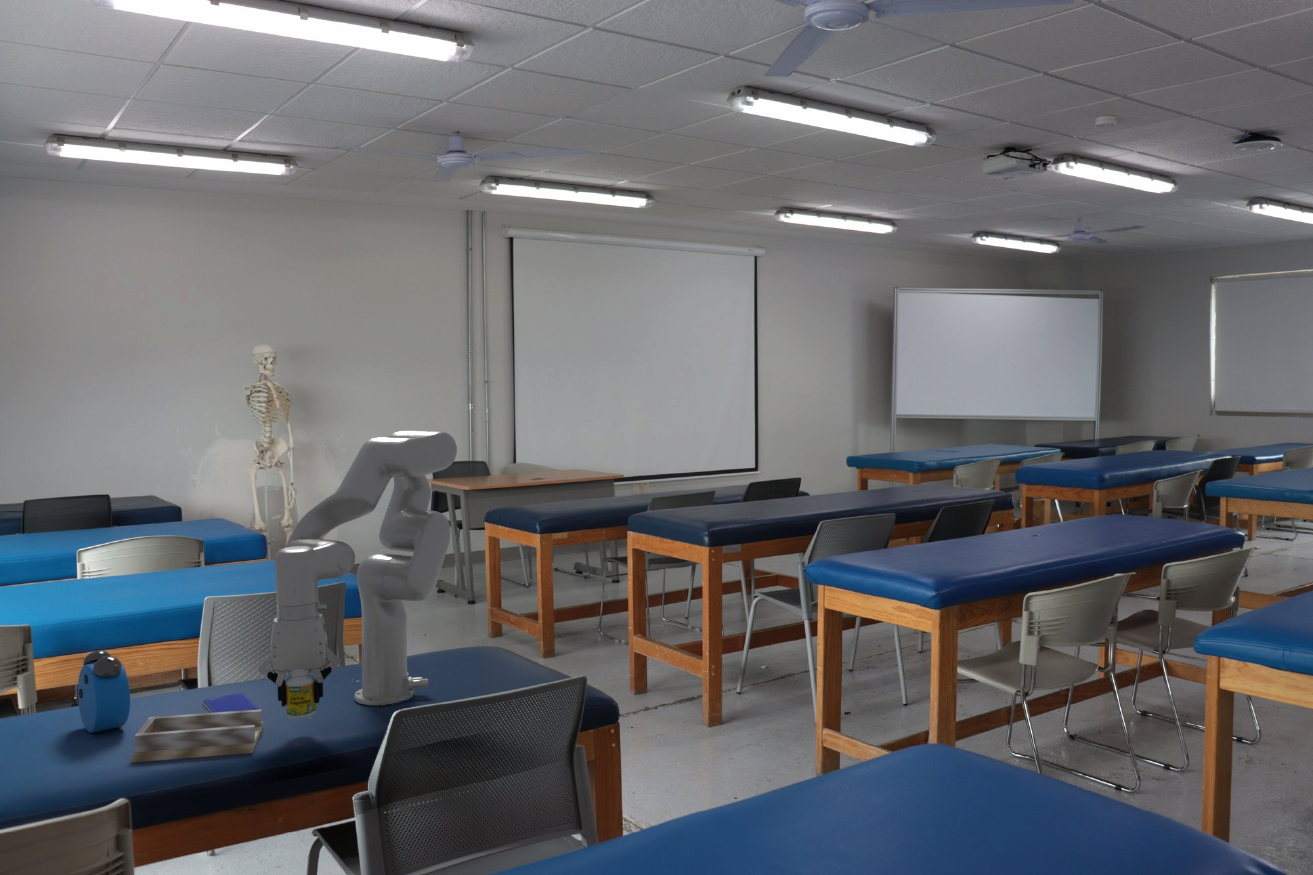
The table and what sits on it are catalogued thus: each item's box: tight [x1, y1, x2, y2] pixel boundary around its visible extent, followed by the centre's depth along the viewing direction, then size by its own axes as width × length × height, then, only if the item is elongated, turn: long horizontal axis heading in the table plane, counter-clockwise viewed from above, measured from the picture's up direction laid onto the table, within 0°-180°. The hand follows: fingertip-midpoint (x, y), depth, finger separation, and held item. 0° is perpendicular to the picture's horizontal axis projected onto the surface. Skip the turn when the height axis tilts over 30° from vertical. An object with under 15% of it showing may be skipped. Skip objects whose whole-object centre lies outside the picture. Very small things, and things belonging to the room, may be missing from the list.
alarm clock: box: [77, 649, 131, 734], centre depth 184 cm, size 13×6×15 cm, turn 45°
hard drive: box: [202, 692, 259, 713], centre depth 198 cm, size 2×8×12 cm
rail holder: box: [131, 708, 264, 763], centre depth 177 cm, size 20×14×4 cm
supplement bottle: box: [285, 669, 317, 720], centre depth 182 cm, size 5×5×10 cm
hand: (301, 701), depth 182 cm, fingers closed on supplement bottle, 5 cm apart
